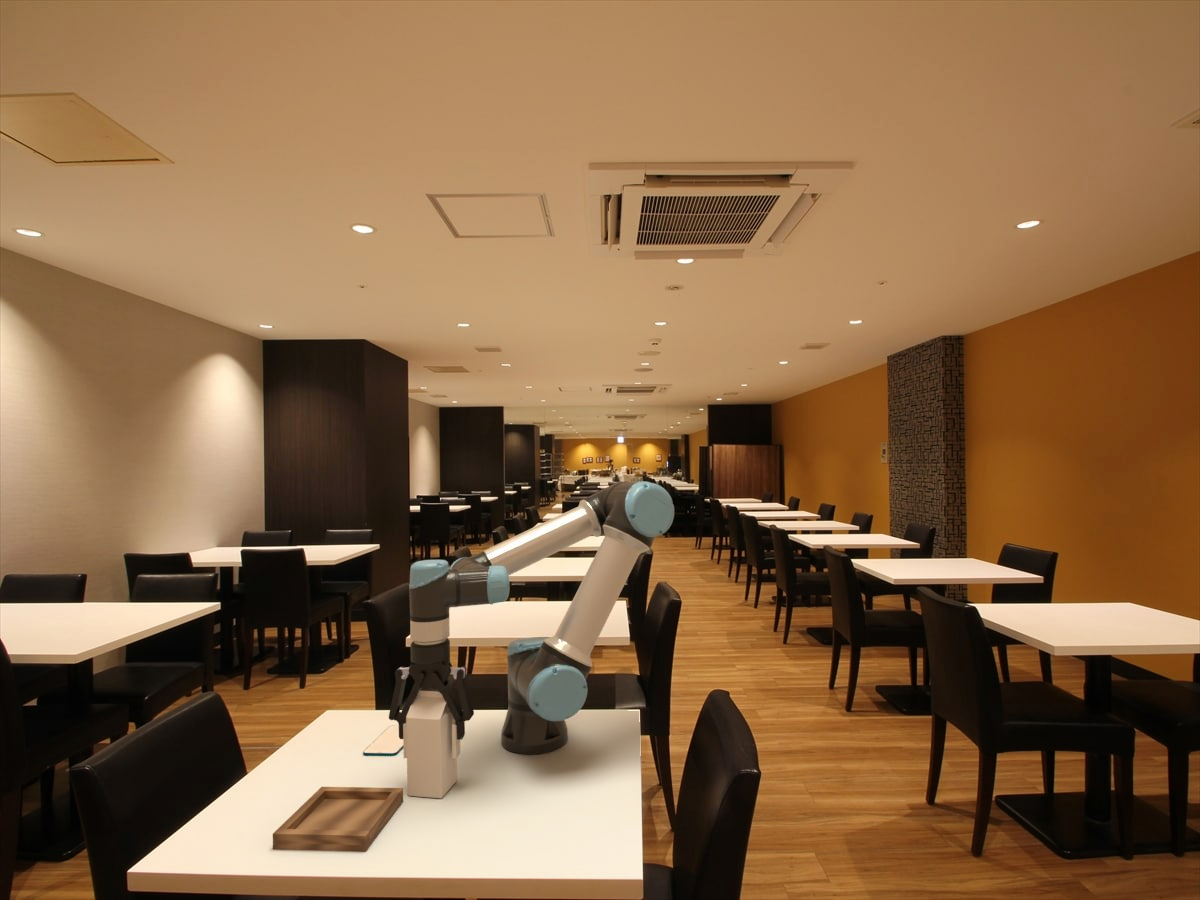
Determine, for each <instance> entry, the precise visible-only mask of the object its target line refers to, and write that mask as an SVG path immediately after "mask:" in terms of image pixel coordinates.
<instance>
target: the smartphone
mask: <svg viewBox="0 0 1200 900" xmlns="http://www.w3.org/2000/svg"><path fill="white" fill-rule="evenodd" d="M403 750H404V747H403V739H400V738H399V724H395V725H389V726H388V727H387V728H386V729H385V730H384V731H382V732H381V734H380V735H379V736H377V738H375V739H374V741H372V742H371V744H369V746H366V748H365V749H364V750H363V751H362V756H364V757H394V756H397V755H399V753H400V752H401V751H403Z"/></svg>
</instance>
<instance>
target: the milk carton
mask: <svg viewBox="0 0 1200 900" xmlns="http://www.w3.org/2000/svg"><path fill="white" fill-rule="evenodd" d="M454 721H455V719H454V718H453V716H452V714H451V712H450V710H449V708H448V706H447V704H446V702H445V700H444V698H443V696H442V694H441V693H440V692H439V690H425V689H421V690H420V691H419V693H418V695H417V697H416V698H415V700H414V702H413V703H412V705H411V706H410V709H409V711H408V714H407V716H406V731H407V758H406V775H407V776H406V785H407V786H406V787H407V788H406V789H407V790H406V791H407V793H406V794H407V796H410V797H420V798H431V799H432V798H433V799H434V798H435V799H442V798H443V797H444V796H445V795H446V794H447V793H448V791H449V790H450V789H451V788H452V787H453V786H454V785H455V783H456V782H458V781H457V780H458V768H457V767H458V766H457V763H458V760H457V758H458V757H457V758H456V759H452V724H453V723H454Z"/></svg>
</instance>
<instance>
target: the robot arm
mask: <svg viewBox="0 0 1200 900" xmlns="http://www.w3.org/2000/svg"><path fill="white" fill-rule="evenodd" d="M673 502H674V501H673V499H672V497H671V495H670V493H669V492H668V491H667V490H666V489H665V488H664V487H662V485H660V484H657V483H655V482H654V483H653V482H650V481H644V480H642V481H619V482H617V483H613V484H611V485H609V486H607V487H605V488H603V489H601V490H600V491H599V490H598V491H597V492H595V493H594V494H592V495H590V496H587V497H586V498H583V499H581V500H580V501H579V504H578V506H577V507H574V508H572V509H570V510H568V511H566V512H563V513H561V514H559V515H558V516H555V517H553V518H551V519H549V520H547V521H545V522H542V523H540V524H538V525H536V526H534V527H532V528H529V529H528V530H525V531H523V532H521V533H519V534H517V535H515V536H513V537H510V538H508V539H506V540H504V541H501V542H499V543H496V544H495V545H493V546H491V547H488V548H487V549H484V550H483V551H481V552H479V553H476V554H474V555H471V556H469V557H468V556H465V557H464V556H463V557H459V558H458V559H456V560H455V561H453V562H452V564H451V565H450V567H449V562H448V561H447V560H446V559H424V560H419V561H416V562H413V563H412V564H411V566H410V570H409V584H408V586H409V587H408V591H409V615H410V616H409V617H410V618H409V620H410V621H409V624H410V625H409V626H410V629H409V631H410V632H409V635H410V637H409V638H410V640H411V641H412V642H411V643H410V665H409V666H408V667H405V666H400V667H399V668H398V669H397V668H396V670H395V671H394V676H395V685H394V688H393V695H392V699H391V703H390V709H389V714H388V719H389V720H390V721H396V722H397V723H398V724H397V725H399V738H400V739H403V747H404V748H403V759H407V731H406V716H407V714H408V711H409V709H410V706H411V705H412V703H413V702H414V700H415V698H416V697H417V695H418V693H419V691H420V690H427V689H432V690H437V691H439V692H440V693H441V694H442V696H443V698H444V700H445V702H446V704H447V706H448V708H449V710H450V712H451V714H452V716H453V718H454V719H455V721H454V723H453V724H452V759H456V758H458V756H459V755H460V754H461V740H463V738H464V737H465V735H466V731H465V730H466V729H465V728H466V727H465V726H466V725H465V724H466V723H465V722H467V721H468V722H469V721H470V720H471V719H472V717H473V716H474V715H475V711H474V707H473V703H472V698H471V694H470V690H469V687H468V683H467V667H466V666H461V667H456V666H453V665H452V663H451V643H450V642H451V640H450V639H449V637H450V635H451V634H450V609H451V608H458V607H469V606H470V607H471V606H480V605H482V606H483V605H493V604H498V603H504V602H506V601H507V600H508V598H509V595H510V587H511V586H510V576H511V575H513V574H514V573H515V574H516V573H517V572H519V571H521V570H523V569H525V568H527V567H529V566H532V565H533V564H536V563H538V562H540V561H541V560H543V559H546V558H549V557H550V556H552V555H554V554H556V553H558V552H560V551H562V550H564V549H566V548H568V547H570V546H573V545H575V544H577V543H579V542H580V541H583V540H585V539H586V538H589V537H591V536H592V537H593V536H594V537H596V538H598V537H601V536H603V535H604V536H603V537H604V538H603V540H602V542H601V543H600V546H599V547H598V549H597V551H596V554H595V555H594V557H593V560H592V561H591V564H590V565H589V568H588V569H587V571H586V573H585V575H584V577H583V579H582V580H581V582H580V585H579V586H578V589H577V591H576V593H575V595H574V597H573V599H572V601H571V602H570V604H569V606H568V608H567V611H566V612H565V614H564V617H563V619H562V620H561V622H560V624H559V626H558V628H557V629H556V632H555V633H554V635H553V636H535V637H534V636H533V637H525V638H519V639H516V640H512V641H510V643H508V646H507V654H506V658H507V662H506V663H507V694H508V695H507V696H508V697H507V699H508V708H507V712H506V715H505V719H504V722H503V725H502V728H501V736H500V737H501V738H500V739H501V741H500V742H501V746H502V747H503V748H504V749H505V750H507V751H509V752H512V753H515V754H523V755H537V754H543V753H547V752H548V753H549V752H552V751H554V750H555V751H556V750H557V749H560V748H561V747H563V746H564V745H566V743H567V741H568V739H569V738H568V737H569V735H568V734H569V733H568V725H567V722H566V720H567V719H570V718H571V717H573V716H575V715H577V714H578V712H579V711H580V710H581V709H582V707H583V706H584V705H585V702H586V699H587V696H588V683H587V678H588V675H589V674H590V672H591V670H592V667H593V661H592V658H591V653H592V651H593V649H594V647H595V645H596V643H597V641H598V639H599V638H600V635H601V633H602V631H603V629H604V627H605V625H606V623H607V621H608V619H609V617H610V614H611V613H612V611H613V609H614V606H615V604H616V603H617V600H618V599H619V596H620V594H621V592H622V591H623V588H624V587H625V584H626V582H627V581H628V578H629V576H630V574H631V572H632V570H633V568H634V566H635V564H636V563H637V560H638V558H639V556H640V555H641V554H642V553H646V552H648V551H650V549H651V547H652V546H653V543H654V541H655V539H656V537H659V536H661V535H662V534H665V533H666V532H667V531H668V530H670V527H671V526H672V524H673V521H674V518H675V506H674V505H675V504H673ZM409 675H410V676H411V678H412V679H413V680H414V682H413V685H412V688H411V689H410V693H409V694H408V697H407V698H406V699H407V700H406V702H405V703H404V705H403V707H402V702H403V697H404V692H405V688H406V683H407V678H409ZM450 675H453V676H452V677H453V679H454V680H455V682H456V683H455V684H456V688H457V692H458V696H459V701H460V703H459V701H458V699H457V696H456V694H455V693H454V691H453V689H452V685H451V682H450V680H449V676H450ZM401 707H402V710H401Z"/></svg>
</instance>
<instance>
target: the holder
mask: <svg viewBox="0 0 1200 900" xmlns="http://www.w3.org/2000/svg"><path fill="white" fill-rule="evenodd" d="M403 803H404V788H403V787H370V786H369V787H363V786H362V787H361V786H358V787H355V786H350V787H349V786H320V788H319V789H318V790H316V792H314V793H313V794H312V795H311V796H310V797H309V798H308V799H307V800H306V801H305V802H304V803H303V804H302V805H300V807H299V808H298V809H297V810H296V811H295V812H294V813H293V814H291V815H290V816H289V817H288V818H287V819H286V820H285V821H284V822H283V823H282V824H281V825H280V826H279V827H278V828H277V829H276V830H275V831H274V832H273V833H272V849H273V850H294V851H295V850H297V851H298V850H299V851H339V852H342V851H343V852H344V851H345V852H367V851H368V849H369V848H370V847H371V845H372V844H373V842H374V841H375V840H376V838H377V837H378V836H379V835H380V833H381V832H382V830H383V829H385V826H386V825H387V824H388V822H389V821H390V820H391V818H392V817H393V815H395V813H396V812H397V810H398V809H399V808H400V806H401V805H402V804H403Z"/></svg>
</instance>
